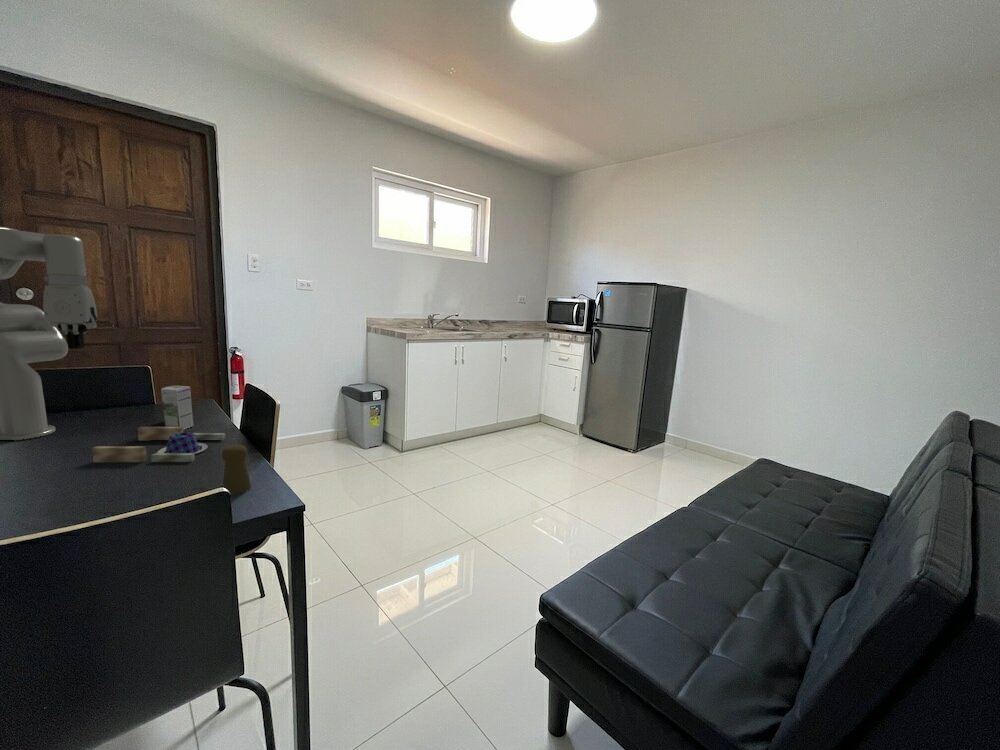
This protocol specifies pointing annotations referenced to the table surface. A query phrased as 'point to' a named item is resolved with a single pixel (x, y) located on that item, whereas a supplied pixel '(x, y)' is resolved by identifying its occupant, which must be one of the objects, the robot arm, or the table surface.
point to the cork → (235, 469)
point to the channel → (140, 451)
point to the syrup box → (177, 406)
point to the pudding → (183, 444)
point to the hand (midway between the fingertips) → (76, 348)
